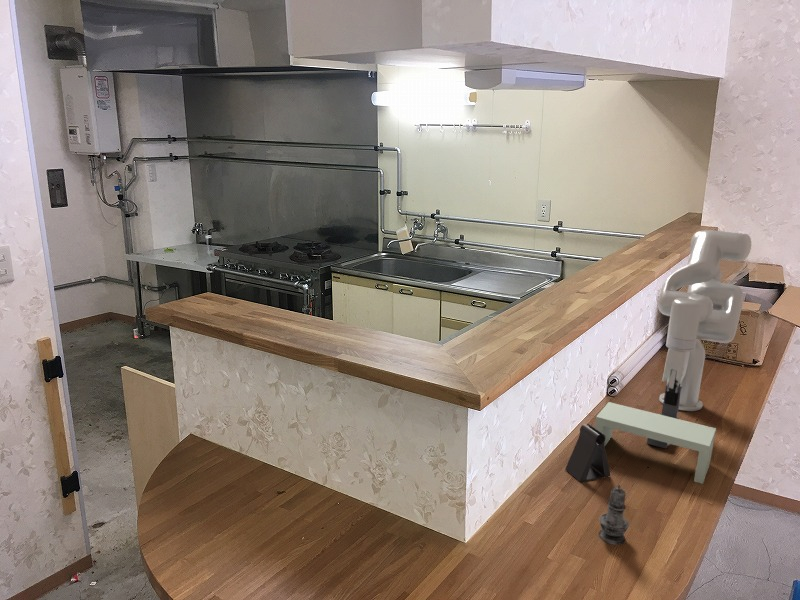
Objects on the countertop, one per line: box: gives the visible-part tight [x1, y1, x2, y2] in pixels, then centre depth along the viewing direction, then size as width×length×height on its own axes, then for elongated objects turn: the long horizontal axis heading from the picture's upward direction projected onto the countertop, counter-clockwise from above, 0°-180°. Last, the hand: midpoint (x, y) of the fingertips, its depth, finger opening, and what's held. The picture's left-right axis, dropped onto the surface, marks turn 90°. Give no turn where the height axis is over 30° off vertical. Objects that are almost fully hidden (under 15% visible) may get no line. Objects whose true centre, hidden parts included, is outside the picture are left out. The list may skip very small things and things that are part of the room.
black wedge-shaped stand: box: [564, 423, 611, 483], centre depth 157 cm, size 9×6×12 cm, turn 110°
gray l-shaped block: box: [646, 383, 682, 450], centre depth 179 cm, size 17×5×12 cm, turn 148°
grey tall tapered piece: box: [598, 484, 630, 546], centre depth 132 cm, size 6×6×12 cm
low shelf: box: [594, 401, 717, 485], centre depth 166 cm, size 12×27×10 cm, turn 58°
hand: (671, 402), depth 185 cm, fingers closed on gray l-shaped block
